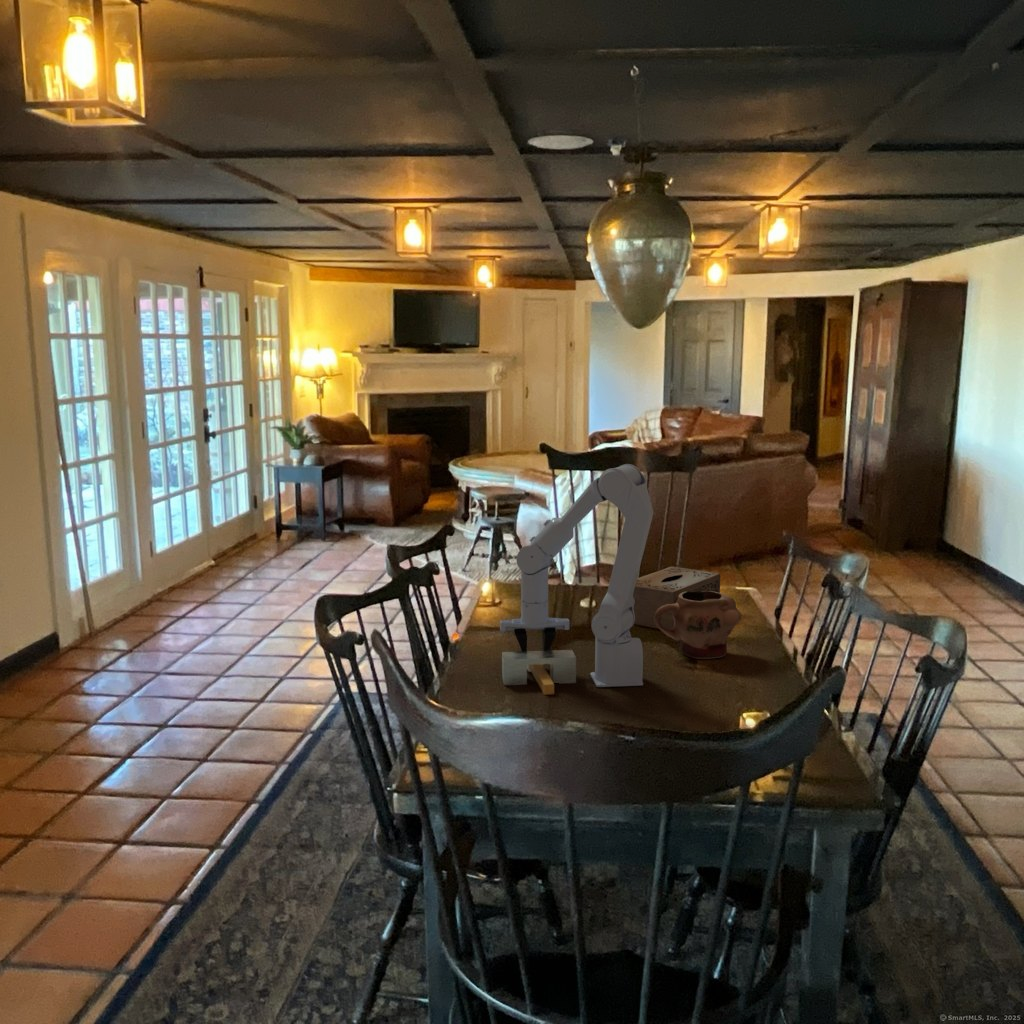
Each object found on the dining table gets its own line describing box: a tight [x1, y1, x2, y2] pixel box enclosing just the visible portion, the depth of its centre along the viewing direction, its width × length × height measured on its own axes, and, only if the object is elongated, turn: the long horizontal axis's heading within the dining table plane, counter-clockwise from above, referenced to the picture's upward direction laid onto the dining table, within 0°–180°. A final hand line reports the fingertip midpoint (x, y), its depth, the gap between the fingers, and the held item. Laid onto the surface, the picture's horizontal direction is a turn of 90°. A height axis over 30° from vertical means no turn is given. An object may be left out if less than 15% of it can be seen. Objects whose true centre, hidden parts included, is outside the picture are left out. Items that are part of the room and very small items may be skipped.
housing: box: [501, 649, 577, 686], centre depth 189 cm, size 15×5×5 cm, turn 95°
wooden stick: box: [527, 664, 555, 696], centre depth 189 cm, size 17×3×3 cm, turn 9°
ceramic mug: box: [654, 591, 743, 660], centre depth 204 cm, size 20×12×14 cm, turn 105°
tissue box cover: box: [633, 565, 721, 630], centre depth 237 cm, size 26×14×10 cm, turn 142°
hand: (534, 662), depth 196 cm, fingers closed on wooden stick, 3 cm apart
